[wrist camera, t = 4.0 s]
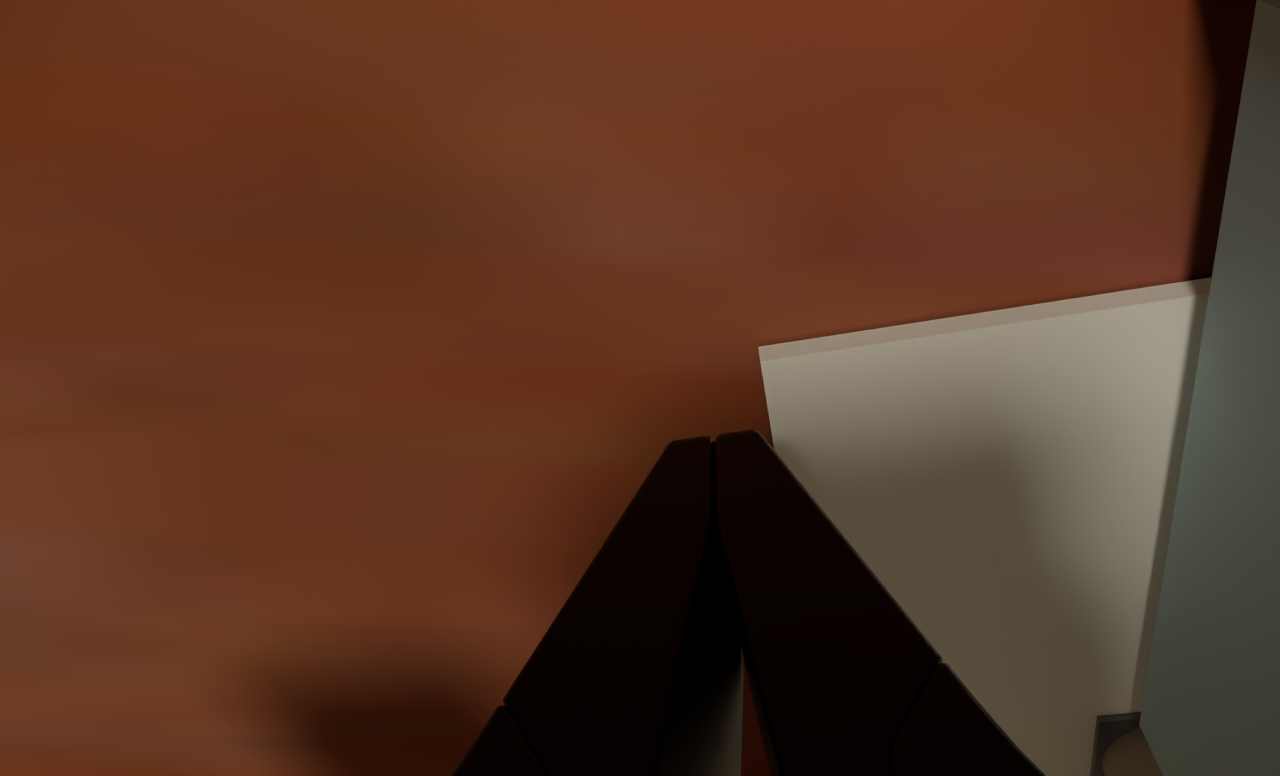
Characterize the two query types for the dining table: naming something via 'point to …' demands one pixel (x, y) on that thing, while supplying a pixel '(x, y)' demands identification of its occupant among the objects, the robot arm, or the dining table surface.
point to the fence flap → (1230, 478)
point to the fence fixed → (1130, 757)
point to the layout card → (1010, 492)
